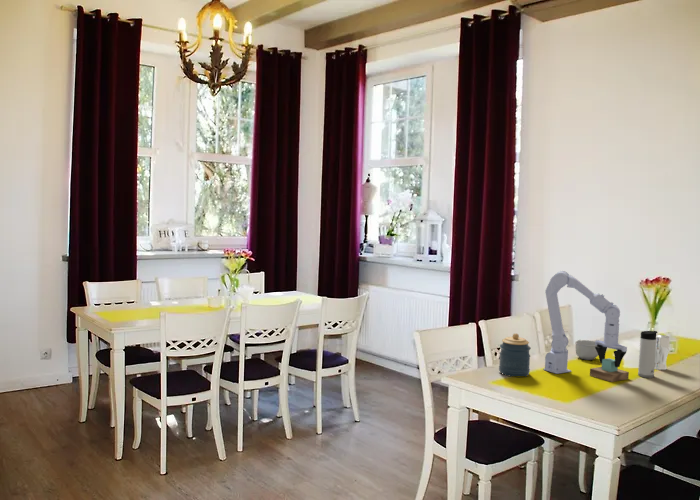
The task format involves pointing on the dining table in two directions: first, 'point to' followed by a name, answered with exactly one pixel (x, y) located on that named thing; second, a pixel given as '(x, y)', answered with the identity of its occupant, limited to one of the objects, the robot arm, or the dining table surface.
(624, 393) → the dining table surface
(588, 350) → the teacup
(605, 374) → the walnut base
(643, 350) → the travel mug
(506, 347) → the canister
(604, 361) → the teal cube
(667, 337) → the beer glass
